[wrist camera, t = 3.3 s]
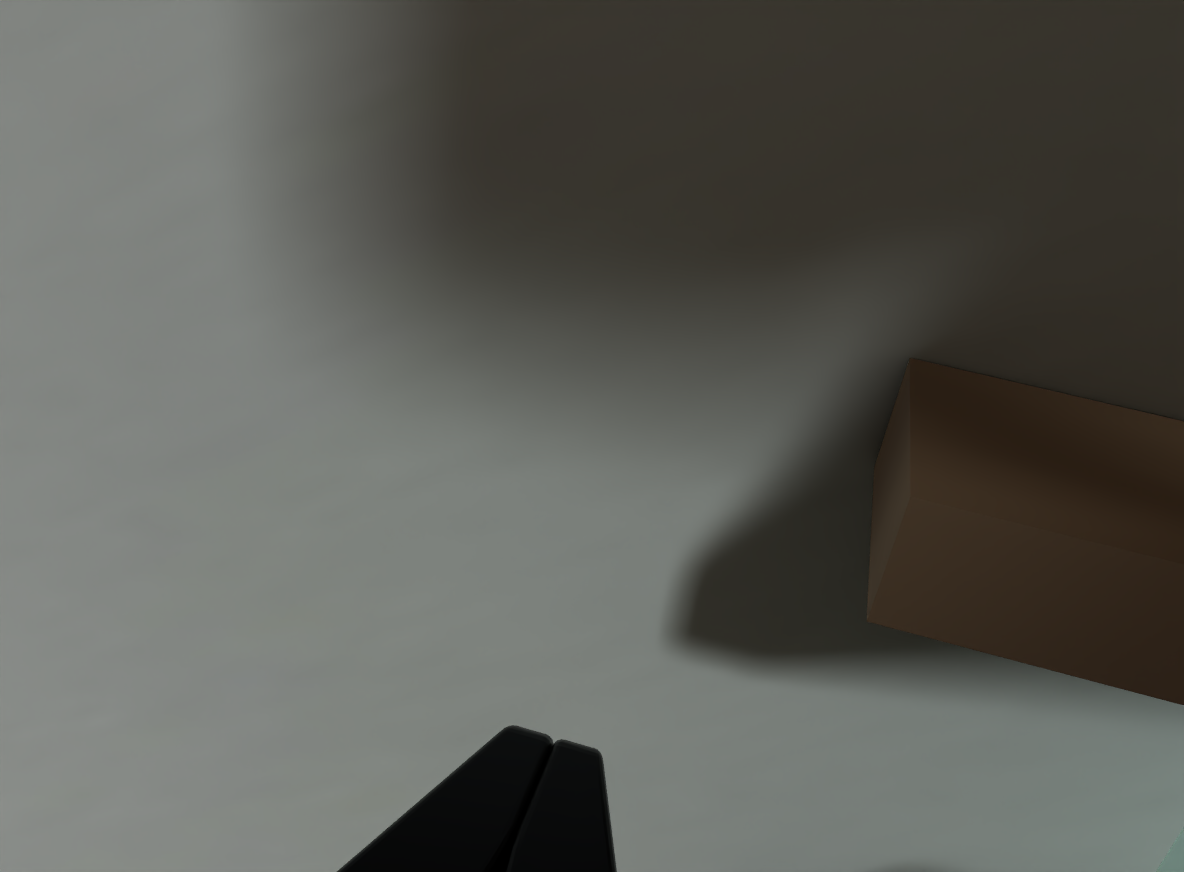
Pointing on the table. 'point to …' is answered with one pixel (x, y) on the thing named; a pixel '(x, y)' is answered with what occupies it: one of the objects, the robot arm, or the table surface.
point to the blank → (1174, 857)
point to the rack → (1032, 528)
